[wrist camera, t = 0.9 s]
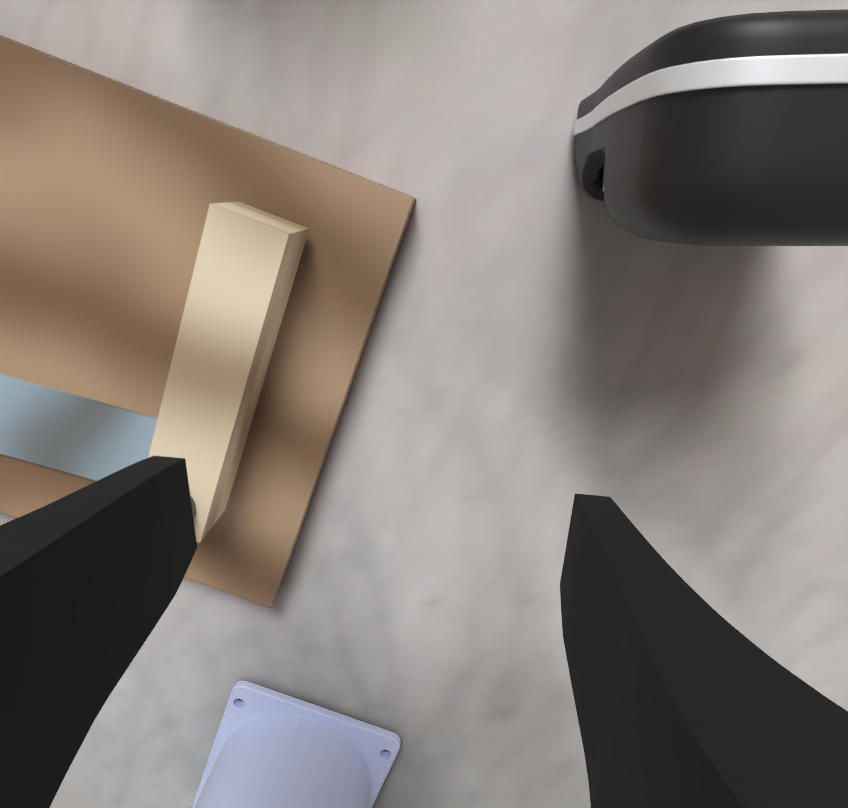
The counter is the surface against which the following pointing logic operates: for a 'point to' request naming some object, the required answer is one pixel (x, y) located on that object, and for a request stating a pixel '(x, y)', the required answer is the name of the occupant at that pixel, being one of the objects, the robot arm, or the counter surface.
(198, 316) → the leg
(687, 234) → the battery charger
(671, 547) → the counter surface
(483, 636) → the counter surface
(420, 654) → the counter surface
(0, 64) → the board
